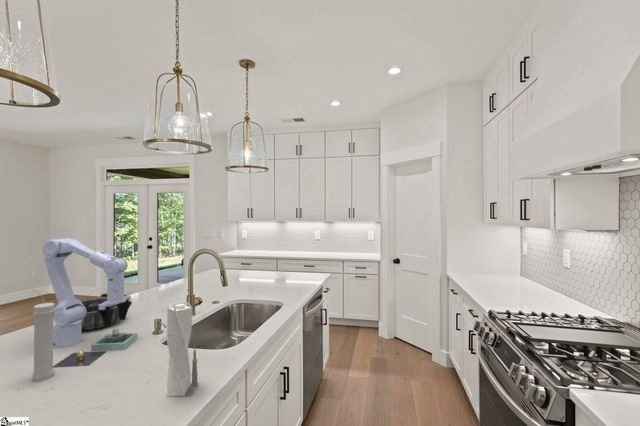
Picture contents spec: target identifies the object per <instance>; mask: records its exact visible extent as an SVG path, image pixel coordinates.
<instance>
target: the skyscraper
mask: <svg viewBox="0 0 640 426" xmlns="http://www.w3.org/2000/svg"><path fill="white" fill-rule="evenodd" d="M187 305H188V306H187ZM192 325H193V306H192V305H191V304H190V303H189V302H187V301H178V302H175V303H171V304H170V305H167V306H166V325H165V327H166V341H167V349H168V354H169V355H168V356H169V359H168V368H167V382H166V383H167V384H166V397H167V398H177V397H192V395H193V394H194V392H195V390H196V388H197V387H198V385H199V382H198V365H197V363H198V358H197V351H196V345H194V346H193V349H194V350H193V351H192V352H193V353H192V354H193V358H192V366H191V362H190V355H189V344H190V340H191V335H192V328H193V327H192ZM191 367H192V369H191Z"/></svg>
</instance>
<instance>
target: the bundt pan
mask: <svg viewBox="0 0 640 426" xmlns="http://www.w3.org/2000/svg"><path fill="white" fill-rule="evenodd" d="M80 301H81V302H82V304H83V306H84V307H85V308H86V311H87V313H86V316H85V317H84V318H83V321H82V331H91V330H93V329H96V330H99V329H100V328H106V327H107V326H105V324H104V321H103V318H102V316H101V315H100V313H99V312H98V309H99V304H102V303H104V302H105V301H107V297H99V298H91V299H85V300H80ZM67 308H70V307H67ZM67 308H66V309H67ZM110 308H111V309H114V311H113V315H112V322H111V326H112V325H114V324H116V323H117V322H118V321H119V320H120V319H119V310H118V306H117V305H114V306H111V307H110Z"/></svg>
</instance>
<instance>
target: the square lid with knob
mask: <svg viewBox="0 0 640 426" xmlns="http://www.w3.org/2000/svg"><path fill="white" fill-rule="evenodd" d="M107 352H108V351H92V352H91V351H84V350H79V351H76V352H72V353H71V354H69V355H67V356H66V357H65V358H63V359H61V360H60V361H59V362H57V363H56V364H53V369H56V368H71V367H72V368H73V367H75V368H76V367H87V366H88V367H89V366H91V365H92V364H93V363H94V362H95V361H97V360H98V359H99V358H101V357H103V356H104V355H105V354H106V353H107Z"/></svg>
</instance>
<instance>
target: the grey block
mask: <svg viewBox="0 0 640 426" xmlns="http://www.w3.org/2000/svg"><path fill="white" fill-rule="evenodd" d="M126 333H127V332H120V329H119V328H116V329H113V330H112V333H110V334H111V335H109V336H107V337H105V343H122V342H124V341H126Z"/></svg>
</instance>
